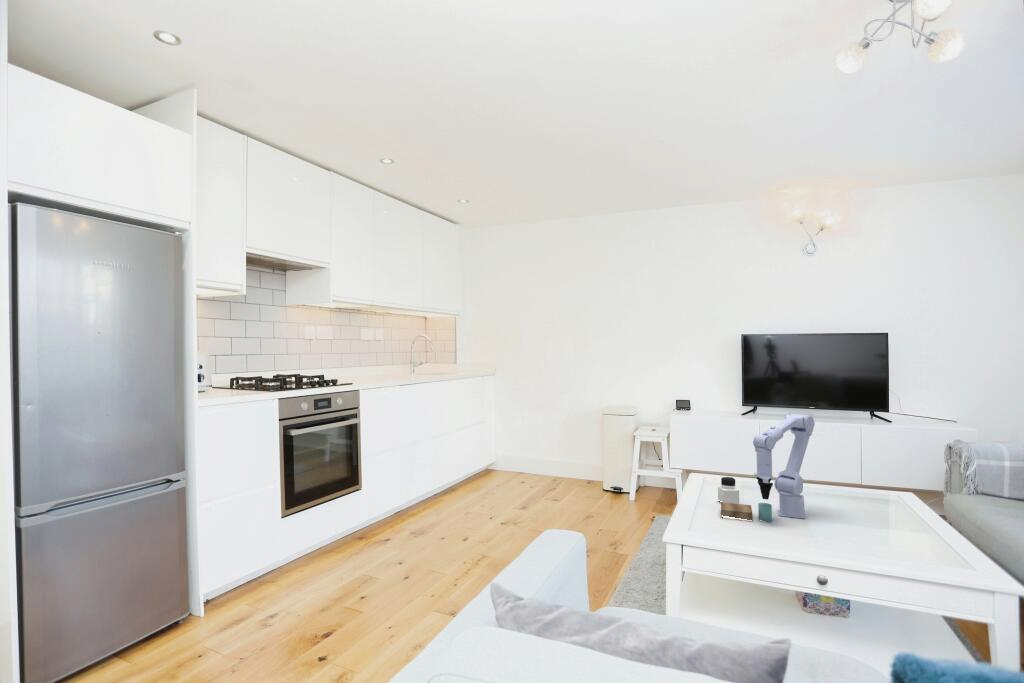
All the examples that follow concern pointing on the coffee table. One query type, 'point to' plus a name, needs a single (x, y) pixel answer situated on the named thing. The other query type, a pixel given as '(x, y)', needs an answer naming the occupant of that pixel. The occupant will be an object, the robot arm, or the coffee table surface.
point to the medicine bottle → (728, 491)
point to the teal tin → (765, 512)
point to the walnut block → (736, 510)
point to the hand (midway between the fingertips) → (764, 496)
